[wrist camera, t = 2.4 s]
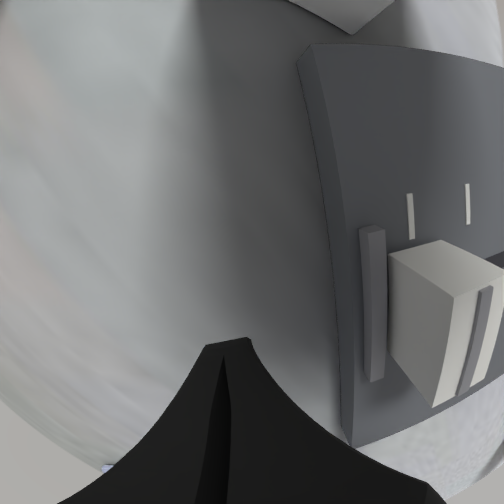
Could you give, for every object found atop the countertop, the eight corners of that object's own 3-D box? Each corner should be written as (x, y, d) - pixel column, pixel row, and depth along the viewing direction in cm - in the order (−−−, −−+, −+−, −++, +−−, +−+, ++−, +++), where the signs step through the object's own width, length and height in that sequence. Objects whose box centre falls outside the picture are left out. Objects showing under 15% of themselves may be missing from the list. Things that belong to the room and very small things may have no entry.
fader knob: (434, 331, 10) (486, 380, 7) (386, 350, 10) (434, 411, 7) (441, 239, 9) (512, 274, 6) (387, 254, 9) (457, 299, 6)
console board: (506, 346, 15) (528, 364, 12) (341, 425, 15) (355, 459, 12) (515, 82, 10) (547, 79, 7) (296, 62, 9) (317, 35, 7)
